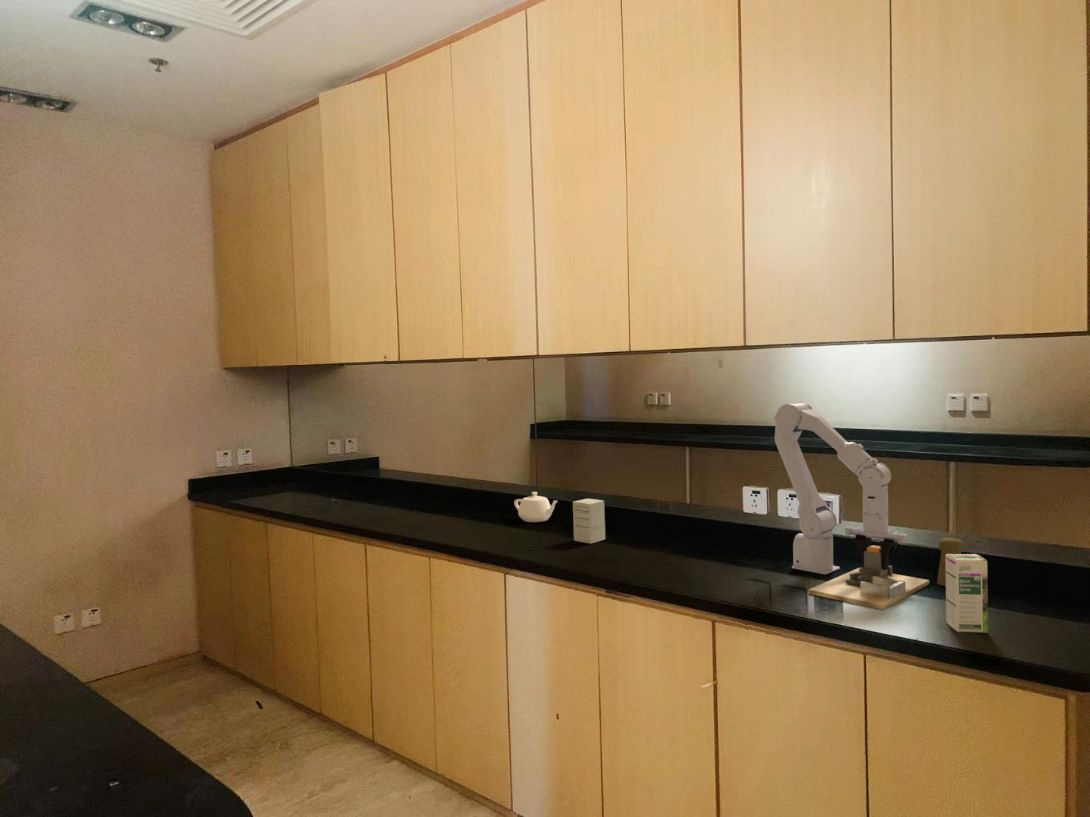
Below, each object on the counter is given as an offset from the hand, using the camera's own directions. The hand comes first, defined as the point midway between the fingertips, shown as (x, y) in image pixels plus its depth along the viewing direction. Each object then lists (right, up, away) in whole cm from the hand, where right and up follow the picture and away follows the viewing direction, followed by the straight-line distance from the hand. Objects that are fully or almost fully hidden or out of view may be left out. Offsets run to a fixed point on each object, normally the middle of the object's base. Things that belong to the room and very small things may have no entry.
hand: (875, 567), depth 181 cm
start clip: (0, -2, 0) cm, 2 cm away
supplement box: (-68, -3, +51) cm, 85 cm away
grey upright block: (0, -2, 0) cm, 2 cm away
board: (-5, -3, -8) cm, 10 cm away
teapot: (-85, -2, +87) cm, 122 cm away
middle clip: (-6, -2, -6) cm, 9 cm away
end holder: (-5, -3, -14) cm, 15 cm away
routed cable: (-5, -2, -7) cm, 9 cm away
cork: (+16, -3, -5) cm, 17 cm away
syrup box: (+2, -5, -35) cm, 35 cm away
